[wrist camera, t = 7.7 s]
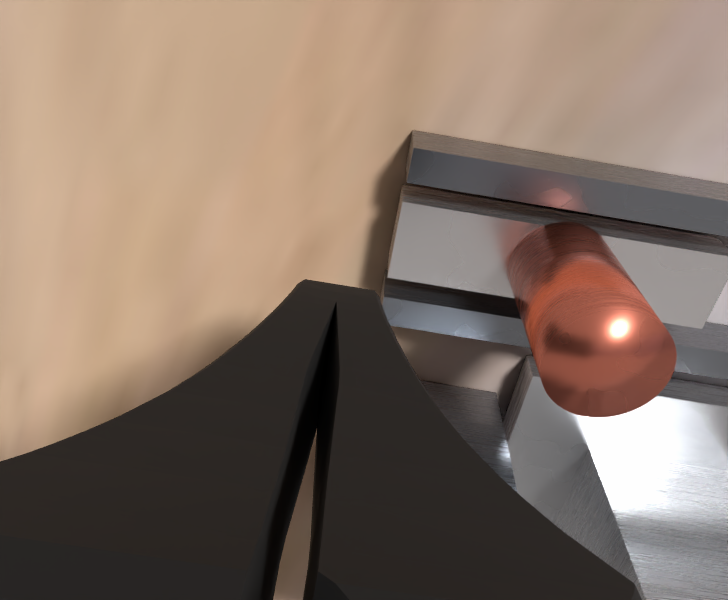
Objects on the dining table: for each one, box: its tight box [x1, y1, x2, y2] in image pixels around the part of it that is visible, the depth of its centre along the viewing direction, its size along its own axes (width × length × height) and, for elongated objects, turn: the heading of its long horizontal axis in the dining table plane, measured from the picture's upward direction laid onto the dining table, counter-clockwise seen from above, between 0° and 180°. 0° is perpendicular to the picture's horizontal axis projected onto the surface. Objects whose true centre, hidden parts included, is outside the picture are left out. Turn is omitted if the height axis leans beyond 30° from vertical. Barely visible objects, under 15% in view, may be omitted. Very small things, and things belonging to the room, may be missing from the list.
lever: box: [387, 184, 728, 417], centre depth 13 cm, size 8×2×5 cm, turn 81°
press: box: [380, 130, 728, 524], centre depth 16 cm, size 17×15×6 cm
